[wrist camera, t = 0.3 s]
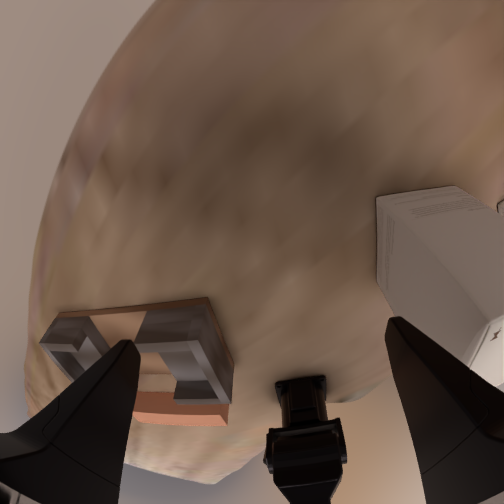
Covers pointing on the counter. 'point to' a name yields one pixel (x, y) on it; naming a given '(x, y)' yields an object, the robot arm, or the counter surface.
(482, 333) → the supplement box
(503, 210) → the skincare box
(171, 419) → the rail
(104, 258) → the counter surface
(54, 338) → the bracket stand
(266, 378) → the counter surface
